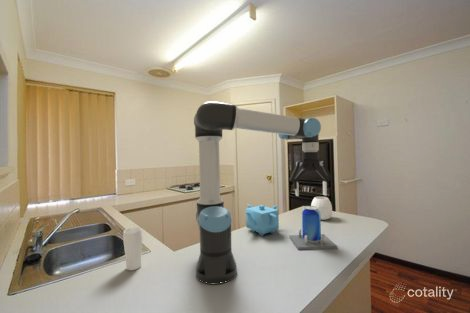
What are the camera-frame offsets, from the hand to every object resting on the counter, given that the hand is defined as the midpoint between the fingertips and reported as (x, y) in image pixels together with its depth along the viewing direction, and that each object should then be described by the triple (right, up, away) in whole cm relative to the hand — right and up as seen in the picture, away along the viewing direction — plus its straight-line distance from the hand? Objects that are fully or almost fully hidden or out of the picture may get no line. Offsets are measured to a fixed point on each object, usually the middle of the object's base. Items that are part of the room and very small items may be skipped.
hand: (311, 195), depth 105 cm
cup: (+20, -22, +38) cm, 48 cm away
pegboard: (0, -23, 0) cm, 23 cm away
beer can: (0, -22, 0) cm, 22 cm away
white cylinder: (-77, -25, -19) cm, 83 cm away
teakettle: (-22, -24, +18) cm, 37 cm away
